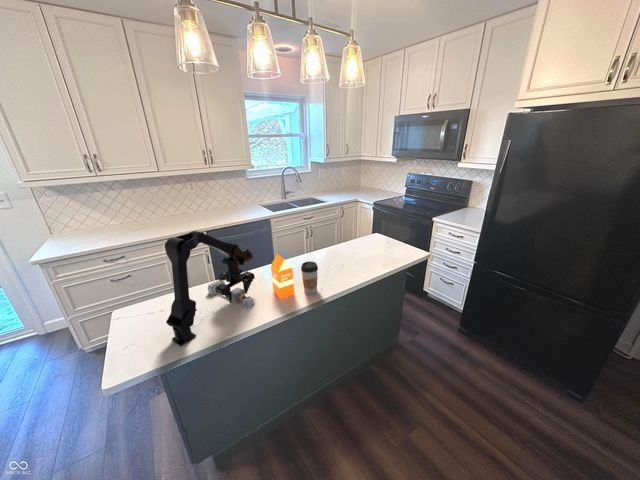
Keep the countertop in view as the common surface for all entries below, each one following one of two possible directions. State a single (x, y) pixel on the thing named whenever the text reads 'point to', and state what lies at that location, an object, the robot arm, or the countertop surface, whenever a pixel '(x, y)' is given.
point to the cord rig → (238, 297)
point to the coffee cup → (309, 277)
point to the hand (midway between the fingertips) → (238, 297)
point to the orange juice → (282, 277)
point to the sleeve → (237, 294)
